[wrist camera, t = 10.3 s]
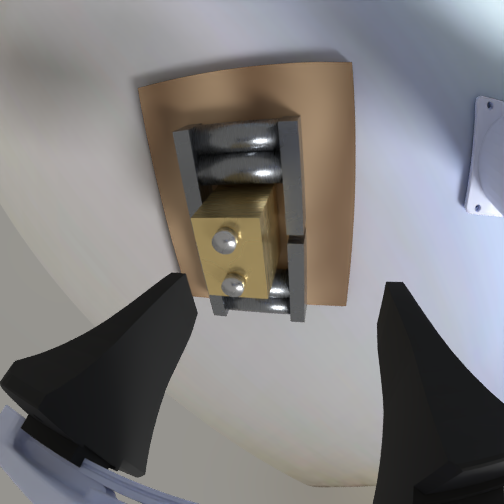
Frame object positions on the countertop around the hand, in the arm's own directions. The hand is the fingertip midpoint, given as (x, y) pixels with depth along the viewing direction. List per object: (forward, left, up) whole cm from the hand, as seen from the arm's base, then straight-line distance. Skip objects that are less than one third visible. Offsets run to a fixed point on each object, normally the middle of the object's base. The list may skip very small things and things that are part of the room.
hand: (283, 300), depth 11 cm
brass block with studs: (+3, +1, -9) cm, 10 cm away
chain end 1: (+3, -2, -9) cm, 10 cm away
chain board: (+3, 0, -10) cm, 11 cm away
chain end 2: (+3, +6, -9) cm, 11 cm away
